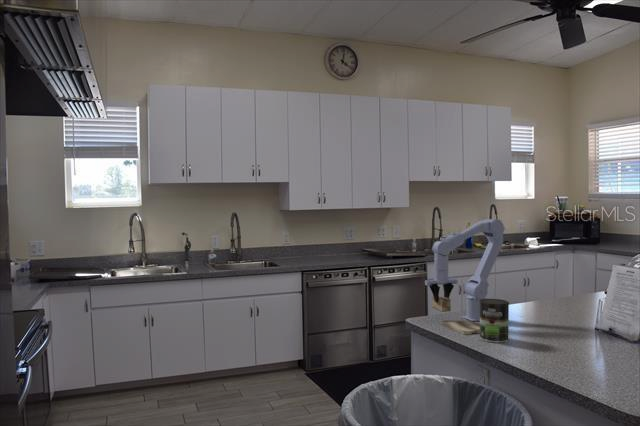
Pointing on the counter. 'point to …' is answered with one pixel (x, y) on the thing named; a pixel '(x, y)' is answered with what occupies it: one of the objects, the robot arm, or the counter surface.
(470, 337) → the counter surface
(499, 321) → the coffee can
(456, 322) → the board
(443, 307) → the block
